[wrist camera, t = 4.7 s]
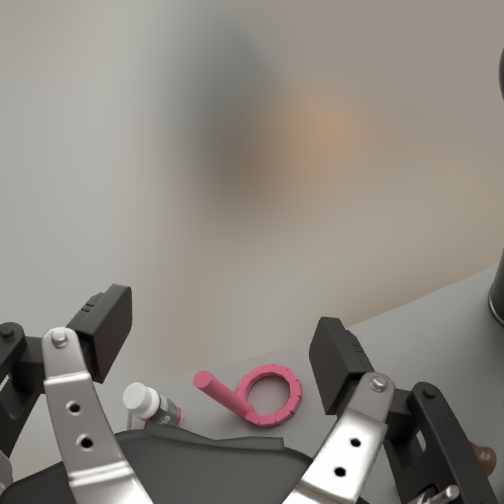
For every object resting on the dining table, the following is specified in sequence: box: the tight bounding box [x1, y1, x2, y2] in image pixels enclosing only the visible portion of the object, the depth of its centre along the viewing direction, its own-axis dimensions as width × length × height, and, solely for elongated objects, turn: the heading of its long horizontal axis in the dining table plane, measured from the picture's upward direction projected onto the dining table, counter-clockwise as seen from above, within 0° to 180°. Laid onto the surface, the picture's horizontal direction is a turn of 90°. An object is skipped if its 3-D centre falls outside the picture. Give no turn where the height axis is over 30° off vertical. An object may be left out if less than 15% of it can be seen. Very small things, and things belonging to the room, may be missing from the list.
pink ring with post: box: [193, 364, 302, 427], centre depth 29 cm, size 9×8×11 cm
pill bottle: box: [123, 383, 183, 427], centre depth 32 cm, size 5×5×8 cm
